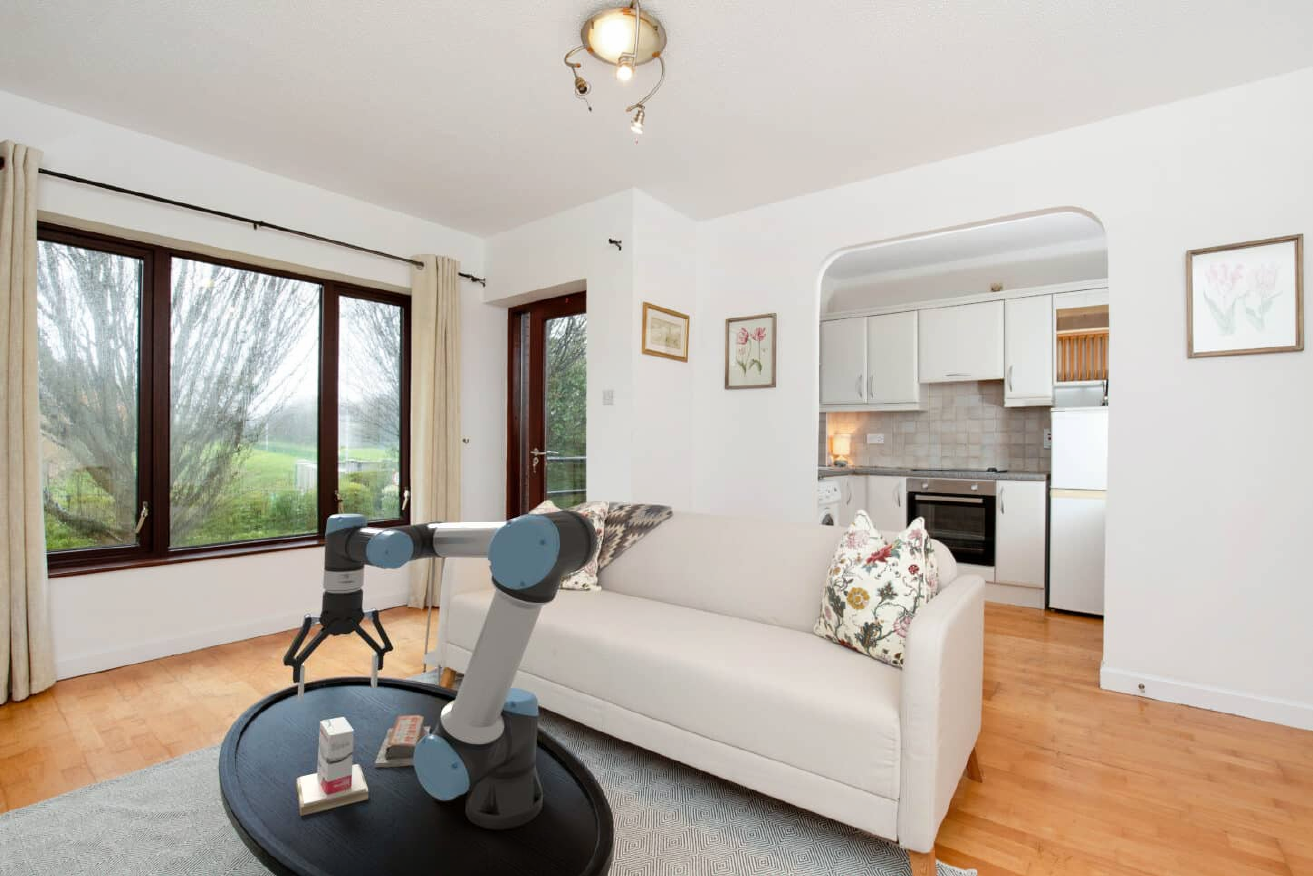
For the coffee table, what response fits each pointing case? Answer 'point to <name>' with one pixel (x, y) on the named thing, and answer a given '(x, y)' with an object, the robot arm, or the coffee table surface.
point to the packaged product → (402, 742)
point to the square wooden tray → (318, 800)
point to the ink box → (335, 755)
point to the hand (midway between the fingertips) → (338, 691)
